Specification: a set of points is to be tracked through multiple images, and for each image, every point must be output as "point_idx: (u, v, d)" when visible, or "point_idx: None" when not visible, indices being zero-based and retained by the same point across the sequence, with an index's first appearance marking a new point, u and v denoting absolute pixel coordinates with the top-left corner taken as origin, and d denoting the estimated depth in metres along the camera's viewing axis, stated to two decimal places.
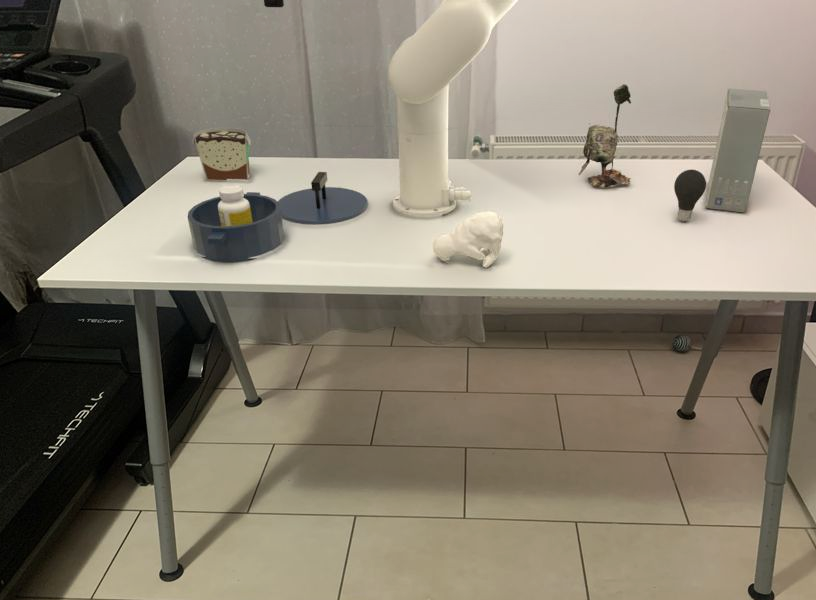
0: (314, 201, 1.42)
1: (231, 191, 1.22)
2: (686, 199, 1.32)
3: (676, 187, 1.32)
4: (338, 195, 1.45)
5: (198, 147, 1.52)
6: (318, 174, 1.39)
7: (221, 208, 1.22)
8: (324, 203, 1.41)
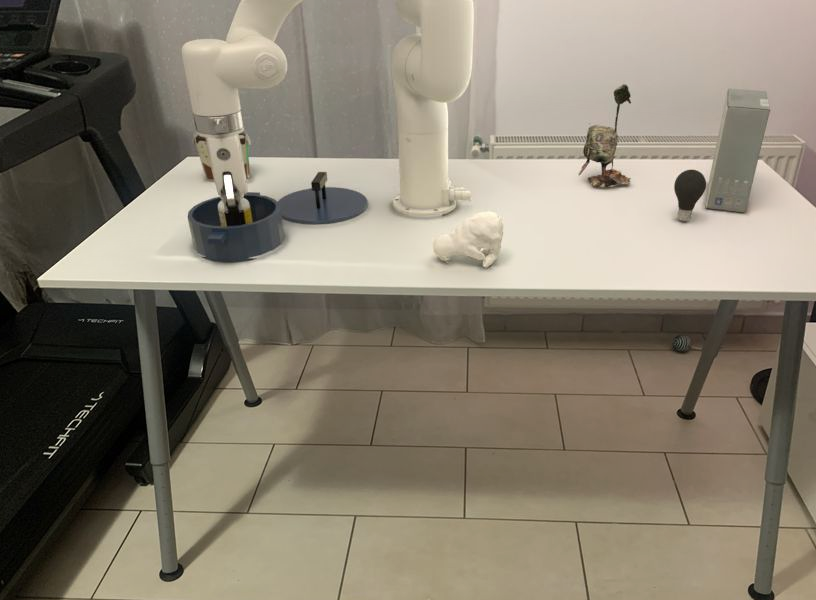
0: (314, 201, 1.42)
1: None
2: (686, 199, 1.32)
3: (676, 187, 1.32)
4: (338, 195, 1.45)
5: (198, 147, 1.52)
6: (318, 174, 1.39)
7: (221, 208, 1.22)
8: (324, 203, 1.41)
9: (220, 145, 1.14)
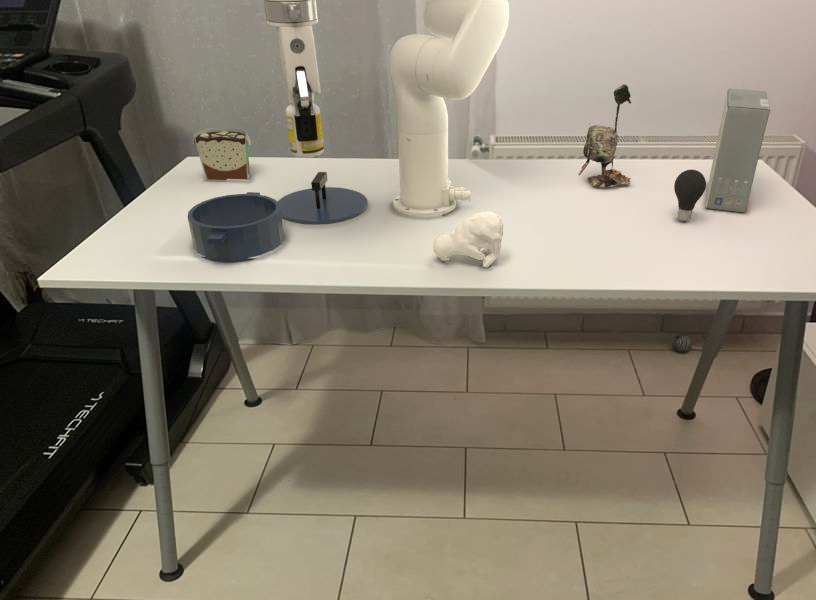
0: (314, 201, 1.42)
1: None
2: (686, 199, 1.32)
3: (676, 187, 1.32)
4: (338, 195, 1.45)
5: (198, 147, 1.52)
6: (318, 174, 1.39)
7: (290, 112, 1.12)
8: (324, 203, 1.41)
9: (294, 35, 1.03)
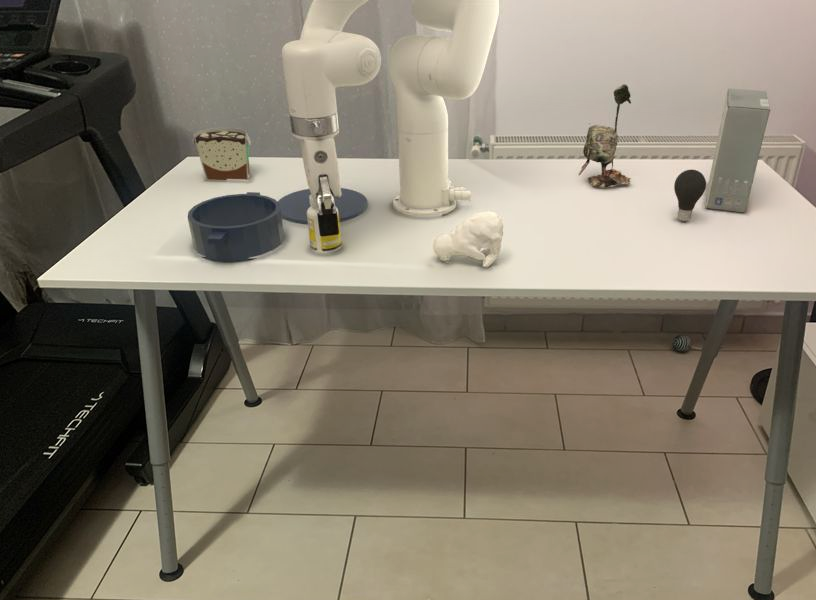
0: None
1: None
2: (686, 199, 1.32)
3: (676, 187, 1.32)
4: None
5: (198, 147, 1.52)
6: None
7: (311, 214, 1.21)
8: None
9: (318, 148, 1.12)
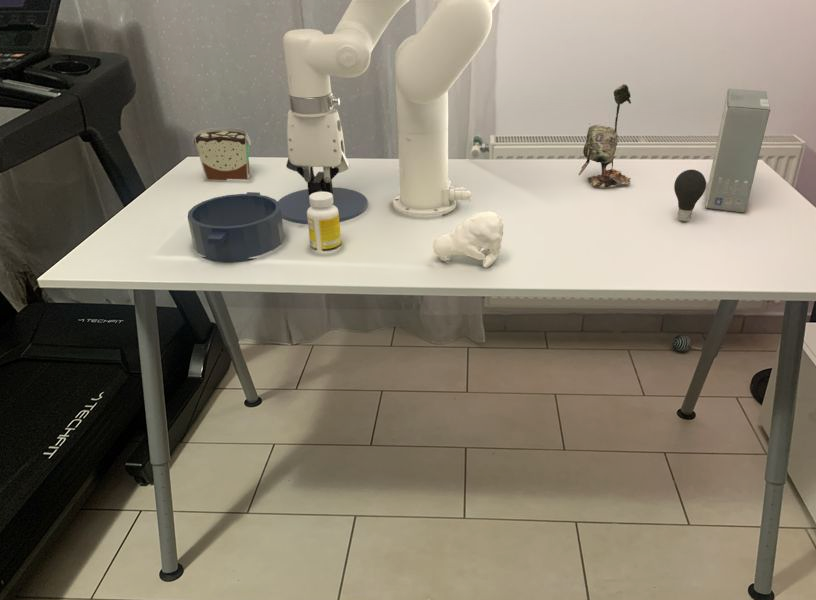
0: None
1: (322, 197, 1.20)
2: (686, 199, 1.32)
3: (676, 187, 1.32)
4: (338, 195, 1.45)
5: (198, 147, 1.52)
6: (318, 174, 1.39)
7: (311, 214, 1.21)
8: None
9: (336, 118, 1.31)
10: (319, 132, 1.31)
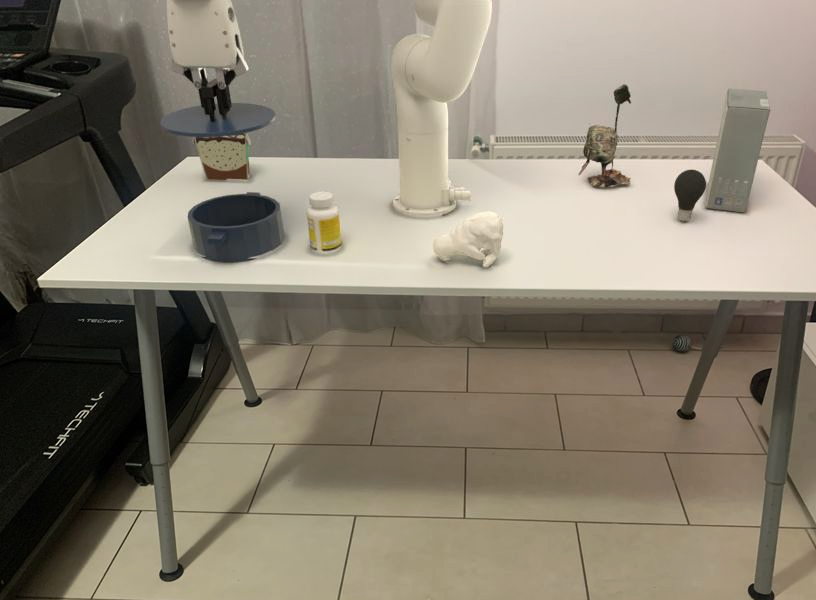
0: None
1: (322, 197, 1.20)
2: (686, 199, 1.32)
3: (676, 187, 1.32)
4: (241, 110, 1.20)
5: (198, 147, 1.52)
6: (213, 80, 1.14)
7: (311, 214, 1.21)
8: (221, 117, 1.16)
9: (227, 4, 1.06)
10: (205, 21, 1.06)
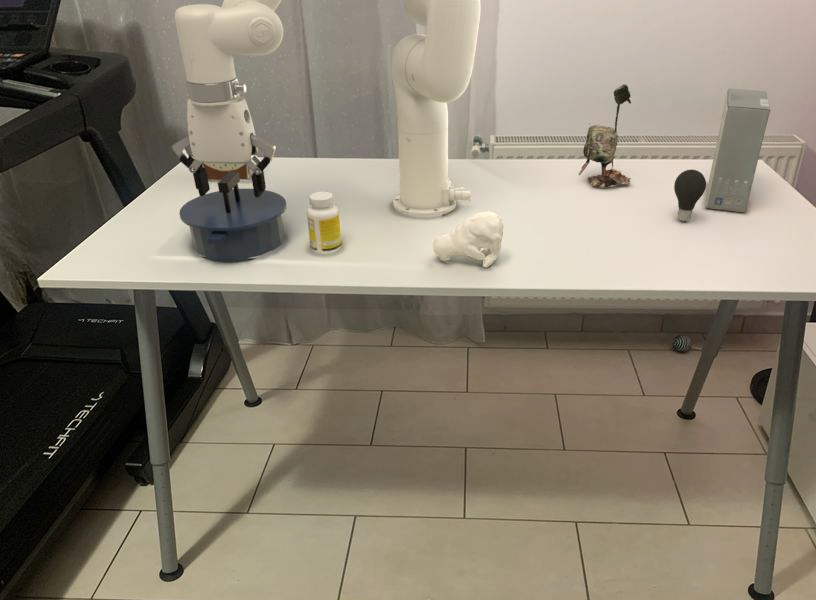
0: None
1: (322, 197, 1.20)
2: (686, 199, 1.32)
3: (676, 187, 1.32)
4: (254, 197, 1.28)
5: None
6: (228, 174, 1.23)
7: (311, 214, 1.21)
8: (236, 207, 1.24)
9: (243, 107, 1.15)
10: (223, 124, 1.14)
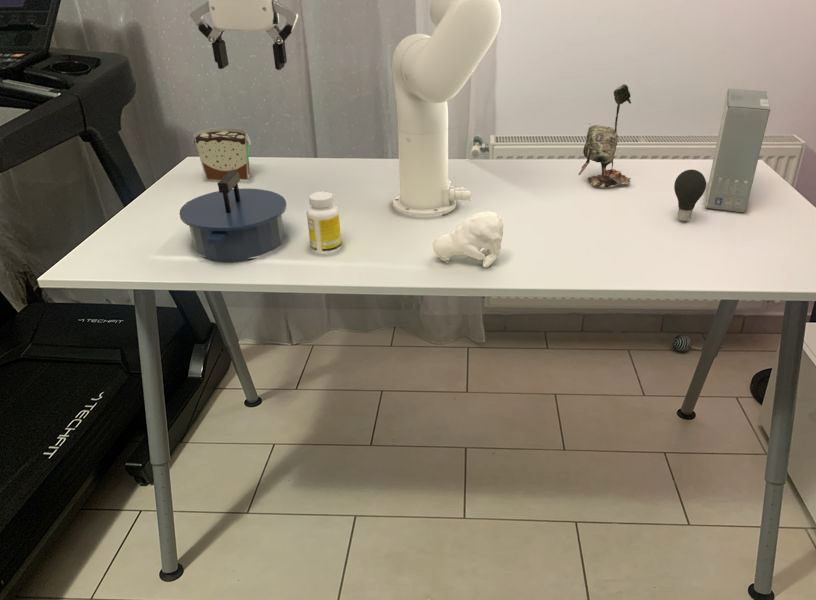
0: None
1: (322, 197, 1.20)
2: (686, 199, 1.32)
3: (676, 187, 1.32)
4: (254, 197, 1.28)
5: (198, 147, 1.52)
6: (228, 174, 1.23)
7: (311, 214, 1.21)
8: (236, 207, 1.24)
9: None
10: None
